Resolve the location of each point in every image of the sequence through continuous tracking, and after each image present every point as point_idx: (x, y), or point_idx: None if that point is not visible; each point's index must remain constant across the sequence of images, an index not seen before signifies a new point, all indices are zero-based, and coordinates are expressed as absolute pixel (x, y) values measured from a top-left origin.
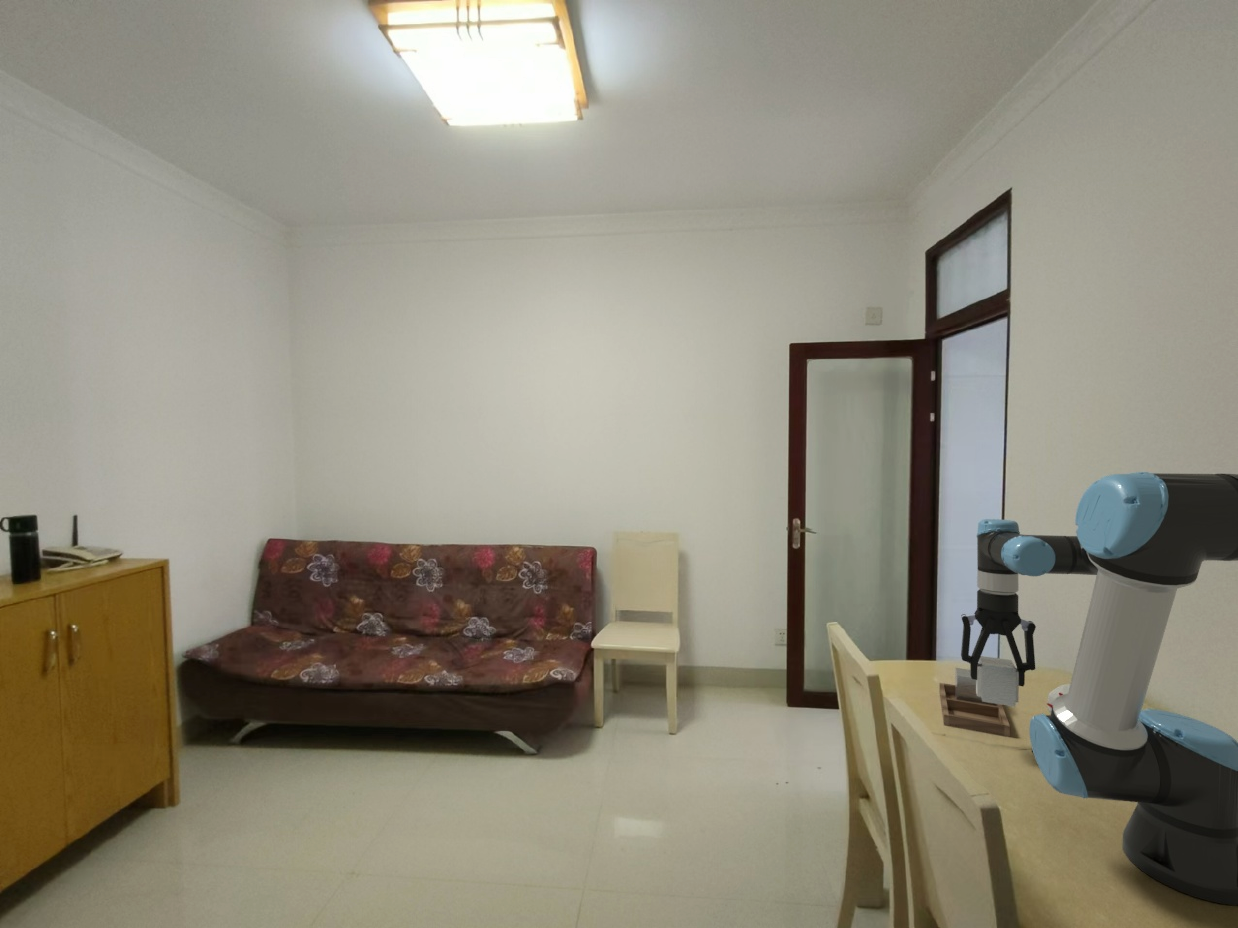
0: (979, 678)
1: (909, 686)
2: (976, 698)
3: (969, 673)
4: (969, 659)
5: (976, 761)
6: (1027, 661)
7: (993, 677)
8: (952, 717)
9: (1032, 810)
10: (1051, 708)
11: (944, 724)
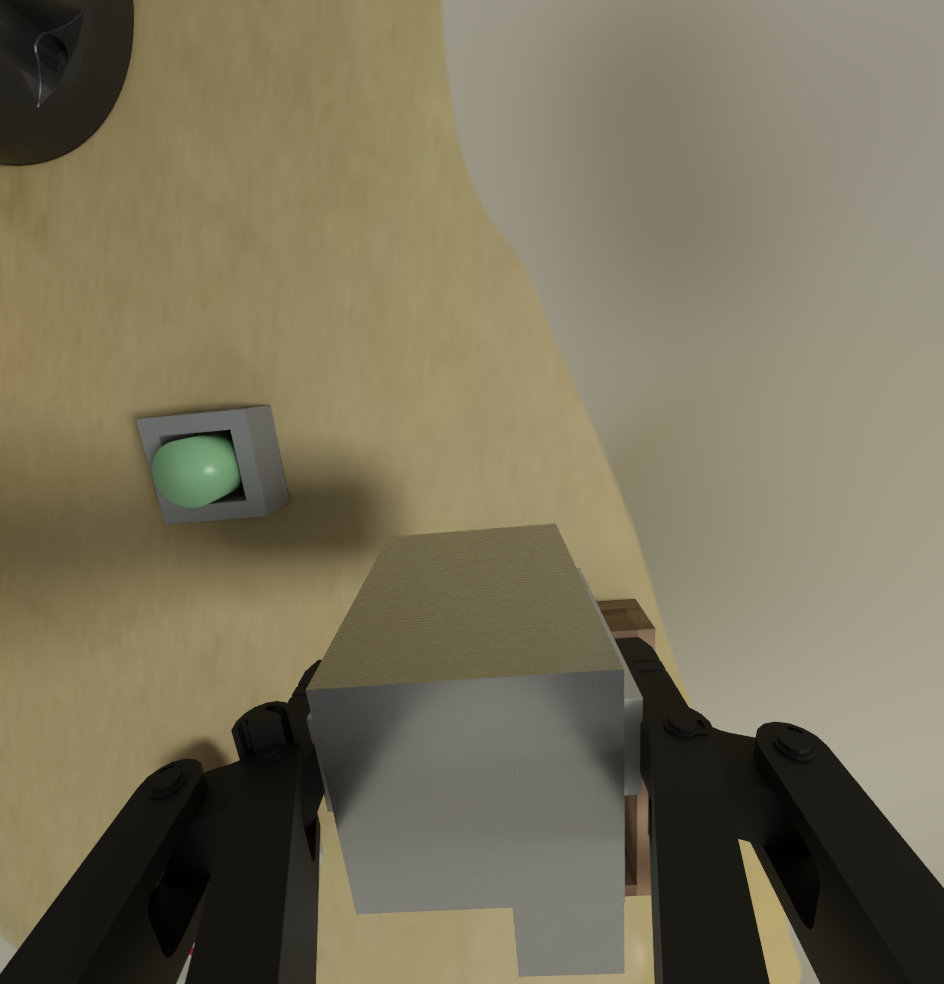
0: None
1: None
2: None
3: (571, 936)
4: (737, 760)
5: (542, 403)
6: (198, 883)
7: (507, 607)
8: (623, 627)
9: (382, 118)
10: None
11: (639, 608)
